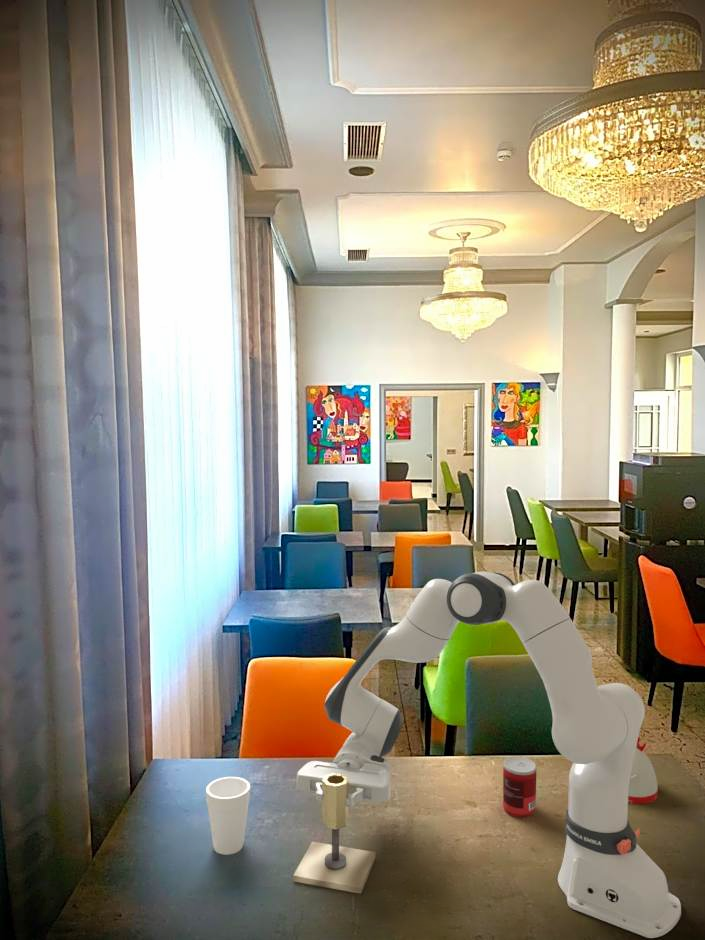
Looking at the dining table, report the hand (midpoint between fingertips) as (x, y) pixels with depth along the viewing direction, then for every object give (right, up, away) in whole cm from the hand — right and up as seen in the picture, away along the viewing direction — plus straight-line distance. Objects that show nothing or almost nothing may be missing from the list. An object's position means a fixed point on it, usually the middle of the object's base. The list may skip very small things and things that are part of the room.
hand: (334, 800), depth 143 cm
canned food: (+43, -14, +25) cm, 52 cm away
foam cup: (-23, -14, +9) cm, 29 cm away
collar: (0, -5, +1) cm, 5 cm away
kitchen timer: (+73, -14, +35) cm, 82 cm away
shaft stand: (0, -15, +2) cm, 15 cm away
